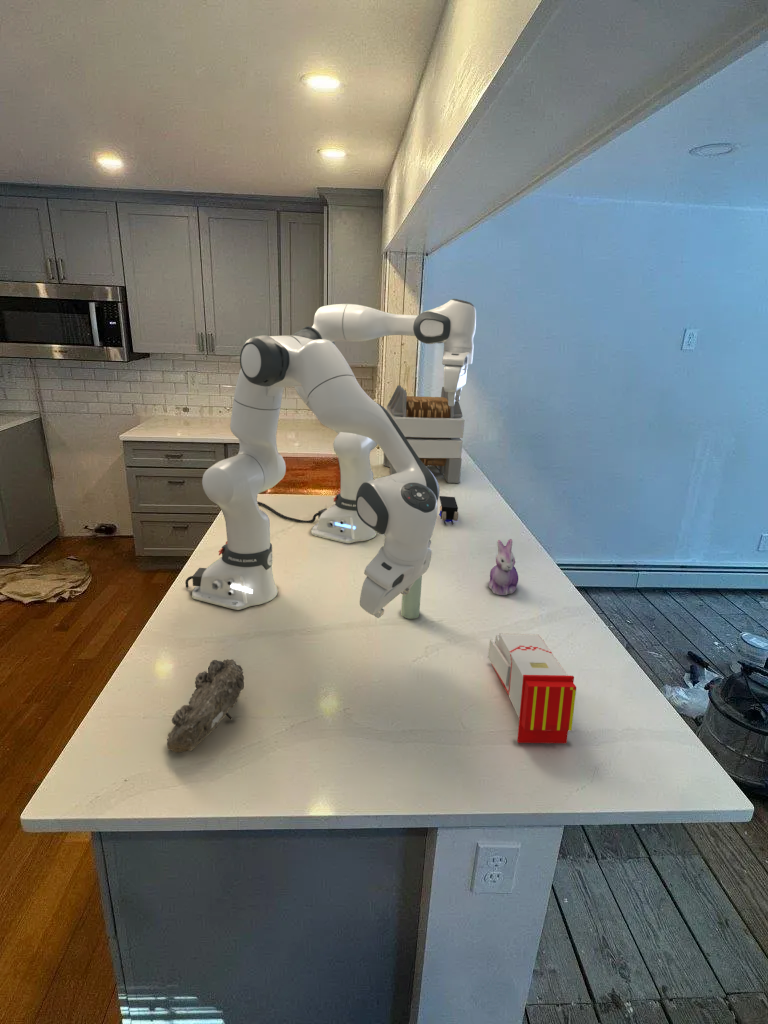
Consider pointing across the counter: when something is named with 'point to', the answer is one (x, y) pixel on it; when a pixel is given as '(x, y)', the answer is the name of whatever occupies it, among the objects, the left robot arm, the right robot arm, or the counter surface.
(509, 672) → the toy
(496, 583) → the figurine
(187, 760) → the counter surface
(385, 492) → the left robot arm
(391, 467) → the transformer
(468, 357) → the right robot arm
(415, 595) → the bottle
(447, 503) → the figurine character
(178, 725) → the fossil
